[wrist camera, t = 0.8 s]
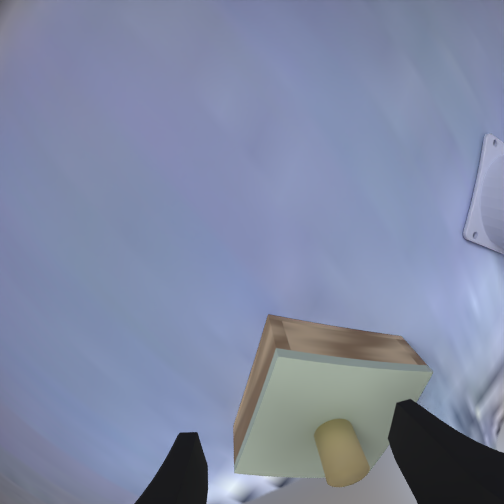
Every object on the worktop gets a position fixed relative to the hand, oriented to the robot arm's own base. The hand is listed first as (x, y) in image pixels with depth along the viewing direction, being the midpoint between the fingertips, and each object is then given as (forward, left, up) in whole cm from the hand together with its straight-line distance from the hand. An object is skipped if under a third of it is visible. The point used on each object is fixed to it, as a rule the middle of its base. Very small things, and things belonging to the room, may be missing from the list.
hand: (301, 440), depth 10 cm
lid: (-5, +5, -6) cm, 9 cm away
